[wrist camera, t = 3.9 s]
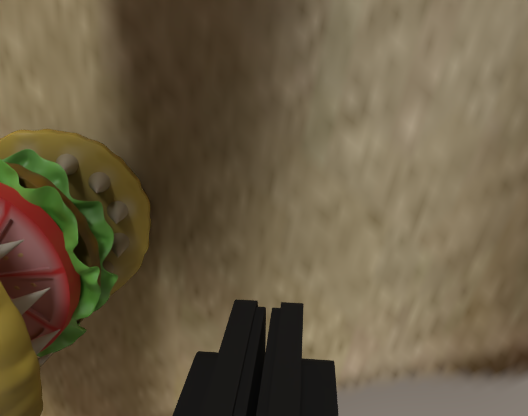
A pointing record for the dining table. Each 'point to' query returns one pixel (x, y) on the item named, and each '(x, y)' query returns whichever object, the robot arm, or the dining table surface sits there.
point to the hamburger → (59, 249)
